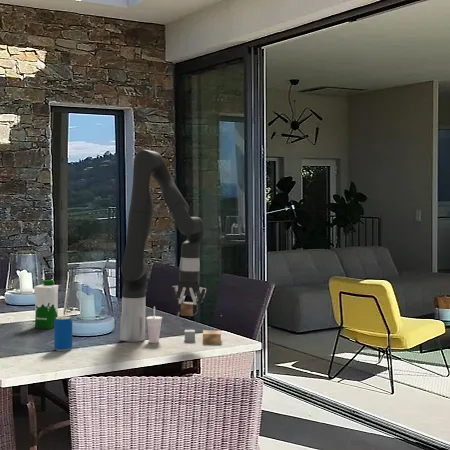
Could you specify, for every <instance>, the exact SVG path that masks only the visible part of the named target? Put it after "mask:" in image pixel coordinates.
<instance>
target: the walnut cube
mask: <svg viewBox="0 0 450 450" xmlns="http://www.w3.org/2000/svg"><path fill="white" fill-rule="evenodd" d="M193 305H194V303H193V301H183V303H181V314H180V316H185V317H194V315H193Z"/></svg>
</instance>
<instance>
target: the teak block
mask: <svg viewBox="0 0 450 450" xmlns="http://www.w3.org/2000/svg"><path fill="white" fill-rule="evenodd" d="M221 337H222V331H221V330H213V329H211V330H210V329H209V330H208V329H207V330H206V329H205V330H204V329H203V330H202V344H204V345H205V344H207V345H208V344H209V345H210V344H211V345H213V344H215V345H220V344H222V342H221V341H222V338H221Z"/></svg>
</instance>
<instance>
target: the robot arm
mask: <svg viewBox="0 0 450 450" xmlns="http://www.w3.org/2000/svg"><path fill="white" fill-rule="evenodd" d="M132 170H133V172H132V176H133V177H132V190H131V197H130V204H129V205H130V206H129V211H128V219H127V229H126V244H125V250H124V252H123V258H122V263H121V266H120V271H121V274H122V276H123V284H122V286H123V287H122V290H121V297H122V298H121V316H119V319H120V320H119V333H120V334H119V341H123V342H127V343H130V342H131V343H132V342H133V343H135V342H143V341H145V340H146V295H147V294H146V292H147V291H146V290H147V283H148V281H147V276H148V275H147V273H148V268H147V262H146V261H145V259H144V258H145V247H146V243H147V240H148V237H149V234H150V231H151V227H152V221H153V215H154V204H153V199H152V196H151V192H150V182H151V176H152V177H153V178H154V180H155V181H156V183H157V184H158V186H159V188H160V191H161V194H162V198H163V201H164V203H165V205H166V207H167V208H168V209H169V211H170V213H171V214H172V216H173V219H174V222H175V225H176V228H178V229H177V230H178V231H179V232H180V233H181V234H182V235H184V236H186V240H185V241H183V242H182V243H181V248H180V249H181V250H180V259H179V260H180V262H179V279H178V281H179V282H178V284H177V285H173V286H171V288H170V290H171V294H172V299H173V301H174V302H175V303H177V304H178V311H177V312H179V314H180V315H181V303H183V302H184V300H185V298H186V297H191V299H192V302H193V303H194V305H193V316H195V315H196V314H197V313H198V309H199V305H200V304H202V303H203V302H204V299H205V296H206V293H207V287H201V284H200V271H201V270H200V267H201V266H200V265H201V264H200V263H201V262H200V253H201V252H200V250H201V249H200V247H201V243H202V240H203V237H204V233H205V225H204V222H203V221H204V220H202V219H201V217H198V216H190V213H189V211H190V205H189V203H188V202H187V201H186V199H185V198H184V196H183V194H182V193H181V192H180V190H179V188H178V186H177V185H176V183H175V182H174V179H173V178H172V175H171V173H170V171H169V169H168V166H167V164H166V162H165V160H164V159H163V156H162V155H161V154H160V153H159V152H157V151H154V150H149V149H140V150H139V151H138V152H137V153H136V154H135V157H134V159H133V169H132ZM178 291H179V292H180V295H179V296H178ZM198 291H199V293H200V296H199V297H198V296H197V293H198Z"/></svg>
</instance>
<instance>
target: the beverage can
mask: <svg viewBox="0 0 450 450" xmlns="http://www.w3.org/2000/svg"><path fill="white" fill-rule="evenodd" d="M53 329H54V332H53V333H54V334H53V336H54V337H53V338H54V339H53V340H54V346H53V347H54V350H56V351H57V352H69V351H71V349H72V348H73V320H72V317H71V316H70V315H69V316H67V315H66V316H64V315H61V316H58V317H56V319H55V321H54V328H53Z"/></svg>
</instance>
